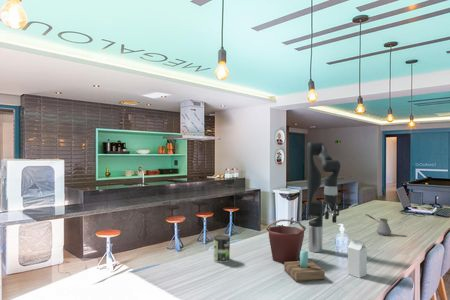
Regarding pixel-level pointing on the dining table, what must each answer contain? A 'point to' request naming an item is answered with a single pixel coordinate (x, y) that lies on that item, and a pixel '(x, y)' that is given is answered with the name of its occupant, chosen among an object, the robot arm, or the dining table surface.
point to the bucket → (285, 241)
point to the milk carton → (357, 258)
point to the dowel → (303, 259)
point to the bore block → (304, 272)
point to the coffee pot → (382, 227)
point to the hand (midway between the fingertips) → (330, 220)
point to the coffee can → (221, 248)
